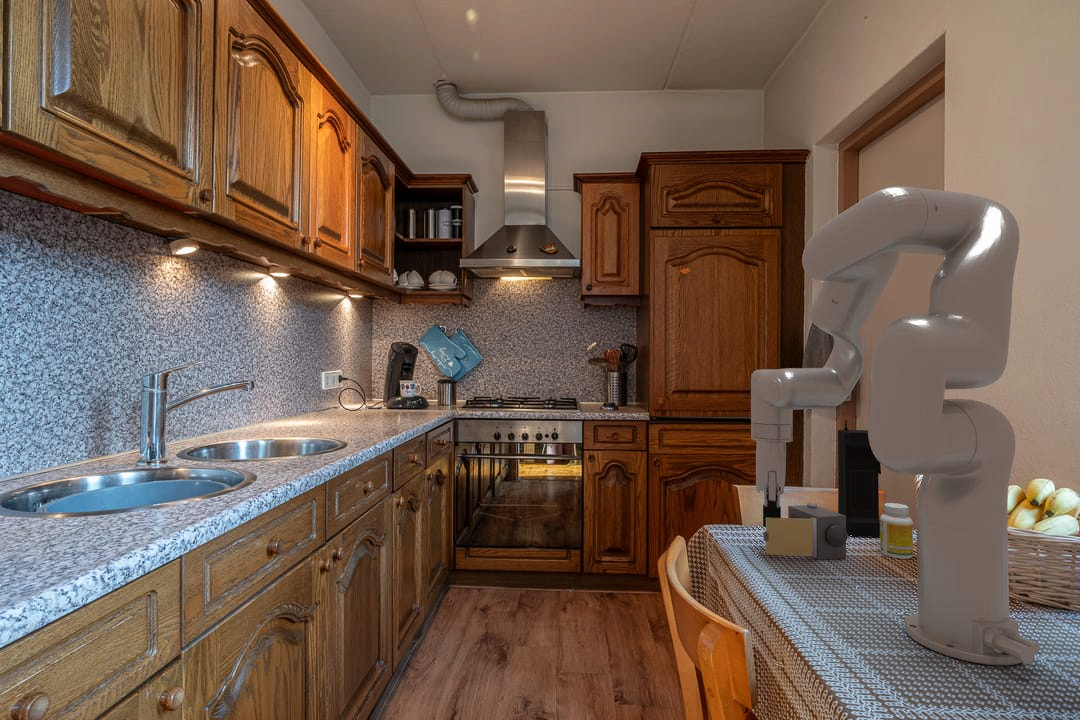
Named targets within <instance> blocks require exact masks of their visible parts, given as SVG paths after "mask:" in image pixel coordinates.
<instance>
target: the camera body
mask: <svg viewBox="0 0 1080 720" xmlns="http://www.w3.org/2000/svg"><path fill="white" fill-rule="evenodd" d="M787 515H788V517H787V518H799V519H810V518H816V531H817V558H814V559H816V560H819V561H822V560H823V561H824V560H838V559H846V558H847V540H848V535H847V531H846V516H845V515H842V514H839V513H838V512H837V511H834V510H831V509H828V508H825V507H822V506H819V505H818V503H814V502H813V503H812V502H806V504H805V505H803V504H802V505H788V506H787Z"/></svg>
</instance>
